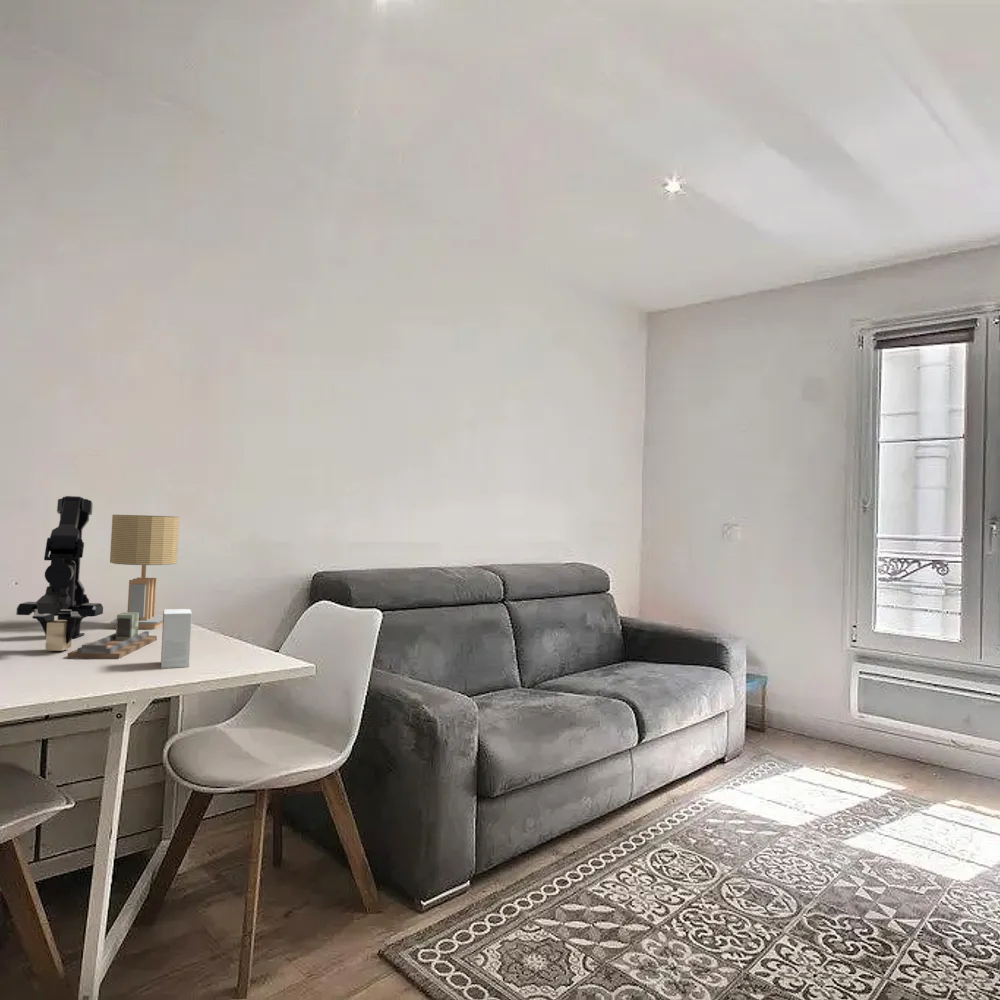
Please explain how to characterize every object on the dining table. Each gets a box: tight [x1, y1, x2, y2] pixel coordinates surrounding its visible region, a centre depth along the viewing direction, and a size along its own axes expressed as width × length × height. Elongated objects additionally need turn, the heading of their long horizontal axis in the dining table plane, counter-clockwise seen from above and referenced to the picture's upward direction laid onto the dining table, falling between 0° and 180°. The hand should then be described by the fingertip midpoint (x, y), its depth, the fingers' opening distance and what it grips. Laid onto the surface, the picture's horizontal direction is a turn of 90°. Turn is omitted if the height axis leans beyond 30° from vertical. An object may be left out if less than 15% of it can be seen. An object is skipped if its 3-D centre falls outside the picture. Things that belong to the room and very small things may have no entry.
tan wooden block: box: [45, 619, 73, 652], centre depth 187 cm, size 5×4×7 cm
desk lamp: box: [109, 514, 180, 630], centre depth 233 cm, size 20×20×35 cm
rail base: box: [66, 611, 158, 660], centre depth 194 cm, size 28×12×8 cm, turn 8°
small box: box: [160, 608, 193, 669], centre depth 177 cm, size 8×6×13 cm
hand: (58, 642), depth 187 cm, fingers closed on tan wooden block, 4 cm apart
